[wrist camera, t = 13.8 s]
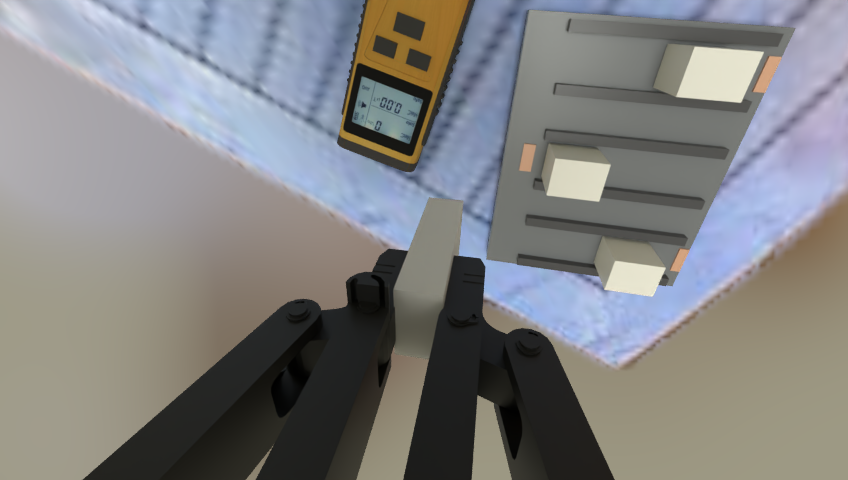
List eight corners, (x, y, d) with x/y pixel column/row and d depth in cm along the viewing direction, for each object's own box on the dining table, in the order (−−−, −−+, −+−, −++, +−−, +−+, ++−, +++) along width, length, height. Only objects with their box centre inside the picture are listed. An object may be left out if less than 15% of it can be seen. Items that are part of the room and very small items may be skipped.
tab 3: (667, 43, 28) (694, 46, 24) (727, 47, 27) (764, 52, 24) (652, 87, 29) (676, 96, 26) (708, 92, 29) (740, 102, 25)
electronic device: (482, -13, 31) (481, -17, 28) (420, 165, 38) (414, 177, 35) (383, -52, 30) (371, -61, 27) (341, 135, 38) (329, 144, 35)
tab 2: (602, 235, 36) (615, 260, 32) (647, 241, 35) (665, 267, 32) (593, 262, 37) (604, 289, 34) (636, 268, 37) (652, 296, 33)
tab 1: (548, 142, 33) (555, 158, 29) (597, 147, 32) (610, 164, 28) (541, 175, 34) (546, 195, 30) (587, 181, 34) (599, 201, 30)
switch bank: (527, 10, 30) (529, 9, 28) (777, 27, 28) (803, 28, 26) (486, 249, 41) (486, 263, 39) (664, 274, 39) (675, 290, 37)
